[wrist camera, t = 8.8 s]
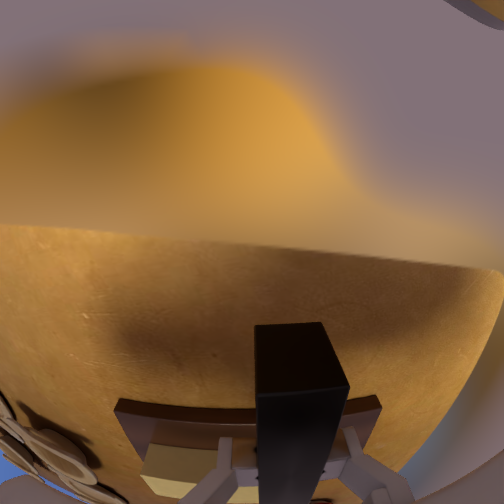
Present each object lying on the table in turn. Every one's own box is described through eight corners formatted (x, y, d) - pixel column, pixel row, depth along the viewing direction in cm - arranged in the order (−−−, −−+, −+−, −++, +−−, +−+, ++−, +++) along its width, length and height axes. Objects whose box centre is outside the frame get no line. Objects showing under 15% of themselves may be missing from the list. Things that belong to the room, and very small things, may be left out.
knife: (286, 514, 15) (288, 543, 12) (259, 515, 15) (260, 545, 12) (321, 320, 9) (352, 386, 6) (253, 323, 9) (255, 395, 6)
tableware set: (135, 512, 28) (132, 527, 24) (17, 455, 26) (11, 466, 22) (93, 424, 19) (79, 453, 15) (-53, 328, 17) (-68, 340, 13)
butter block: (149, 442, 17) (139, 474, 13) (260, 450, 17) (261, 486, 13) (162, 465, 18) (155, 494, 15) (260, 472, 18) (261, 503, 15)
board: (118, 398, 17) (112, 410, 16) (376, 394, 17) (383, 407, 16) (156, 467, 20) (154, 478, 19) (345, 465, 20) (348, 475, 19)
